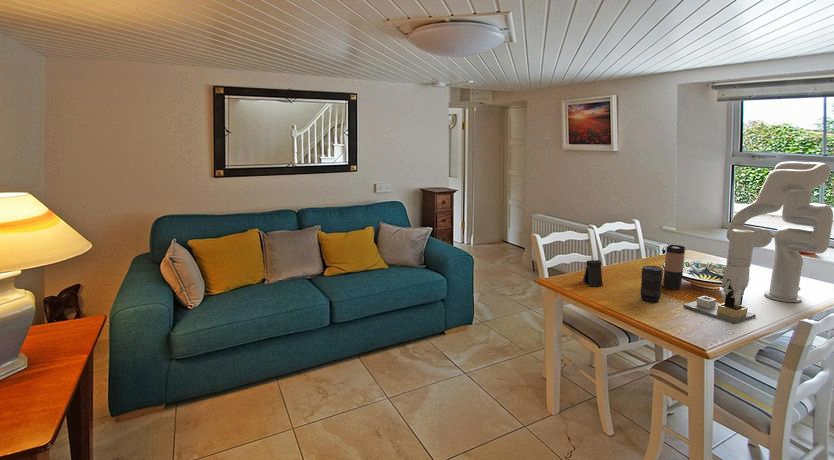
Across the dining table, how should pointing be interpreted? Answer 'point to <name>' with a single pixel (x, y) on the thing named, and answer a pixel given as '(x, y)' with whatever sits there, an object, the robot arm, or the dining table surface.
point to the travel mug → (673, 267)
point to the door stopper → (593, 273)
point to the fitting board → (719, 310)
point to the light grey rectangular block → (737, 299)
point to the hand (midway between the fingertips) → (733, 304)
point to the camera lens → (651, 283)
